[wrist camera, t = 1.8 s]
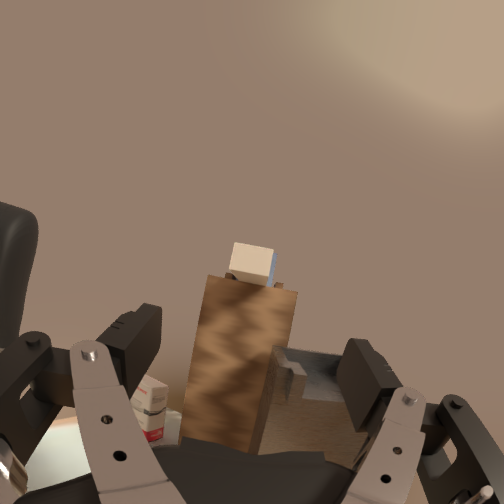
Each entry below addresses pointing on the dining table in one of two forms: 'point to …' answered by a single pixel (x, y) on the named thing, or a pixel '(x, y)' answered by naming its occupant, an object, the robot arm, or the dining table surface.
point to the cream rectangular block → (253, 264)
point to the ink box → (150, 406)
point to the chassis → (304, 408)
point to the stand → (233, 358)
